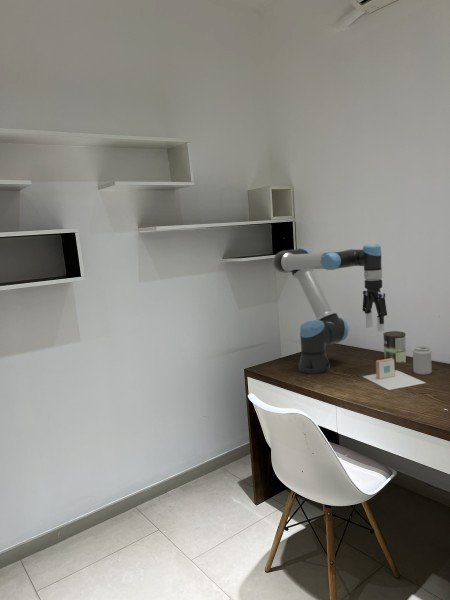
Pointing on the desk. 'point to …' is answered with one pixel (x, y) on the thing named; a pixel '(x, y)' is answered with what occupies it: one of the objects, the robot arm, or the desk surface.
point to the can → (422, 360)
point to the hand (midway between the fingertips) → (374, 329)
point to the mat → (395, 380)
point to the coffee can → (395, 346)
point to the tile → (385, 368)
